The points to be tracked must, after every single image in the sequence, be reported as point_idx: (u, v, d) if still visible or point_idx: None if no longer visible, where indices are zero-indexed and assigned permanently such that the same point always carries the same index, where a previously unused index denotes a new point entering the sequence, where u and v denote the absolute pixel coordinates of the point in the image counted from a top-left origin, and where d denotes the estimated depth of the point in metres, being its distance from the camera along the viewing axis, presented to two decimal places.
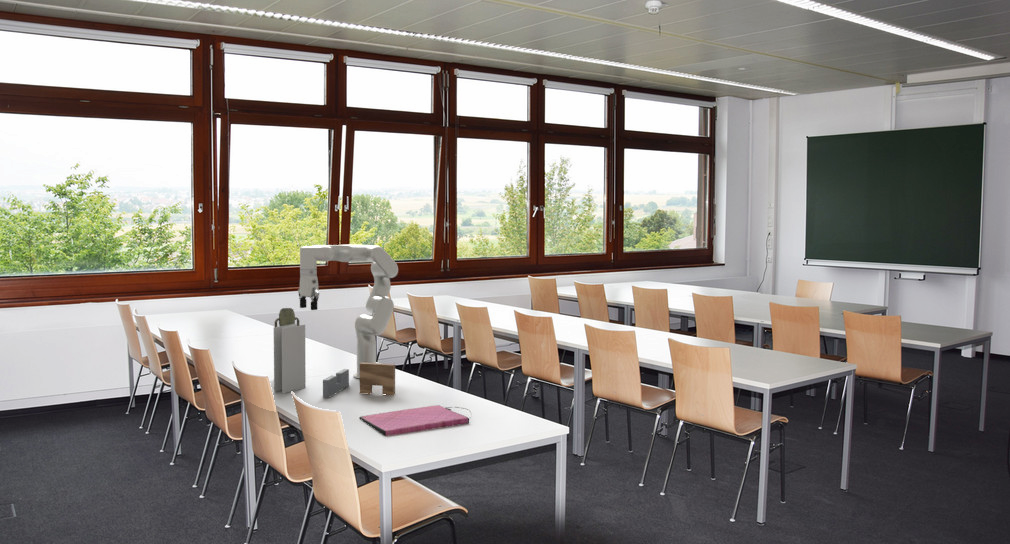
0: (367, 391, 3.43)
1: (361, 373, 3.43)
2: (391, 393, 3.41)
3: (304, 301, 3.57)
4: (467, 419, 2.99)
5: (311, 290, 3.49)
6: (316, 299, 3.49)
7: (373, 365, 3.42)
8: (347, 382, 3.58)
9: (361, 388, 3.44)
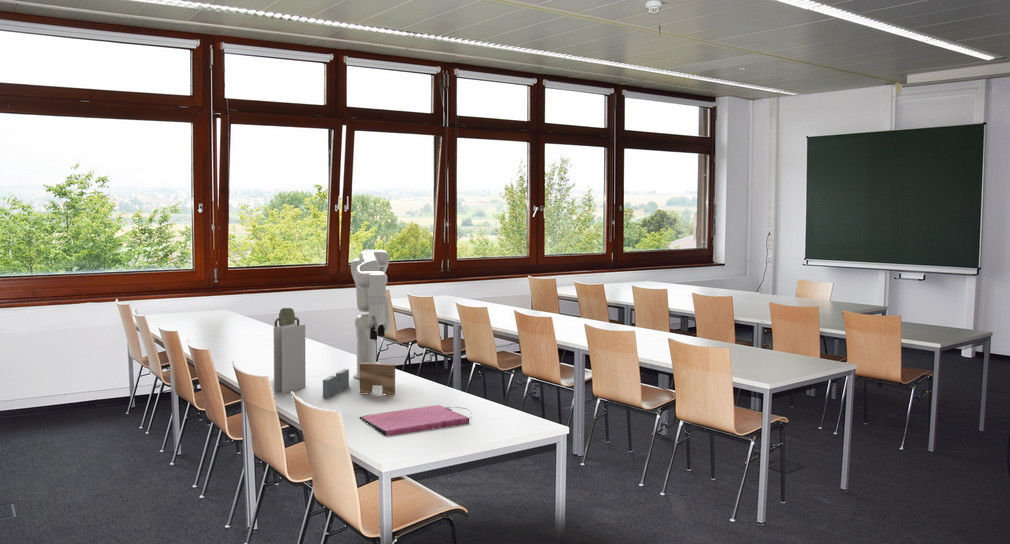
0: (367, 391, 3.43)
1: (361, 373, 3.43)
2: (391, 393, 3.41)
3: None
4: (467, 419, 2.99)
5: None
6: None
7: (373, 365, 3.42)
8: (347, 382, 3.58)
9: (361, 388, 3.44)
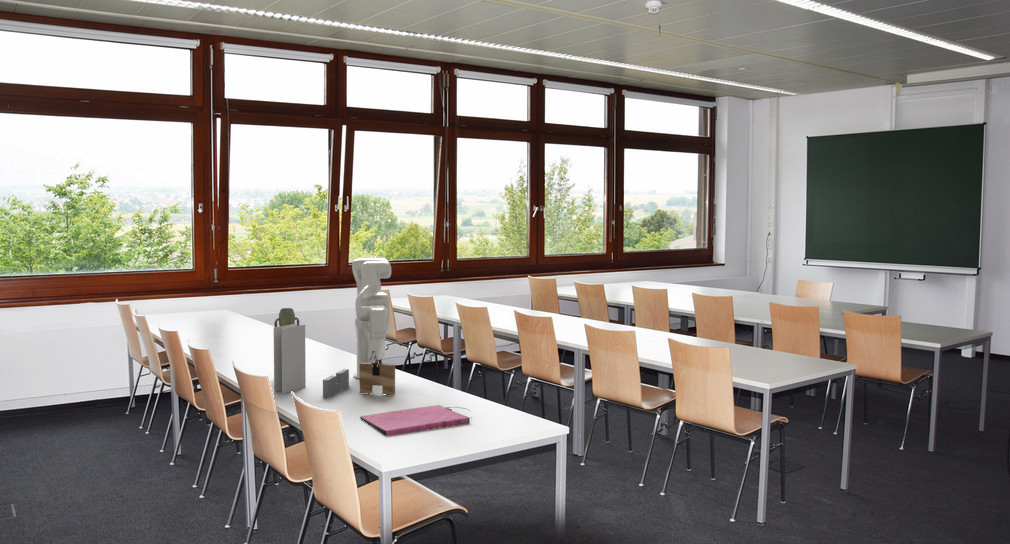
0: (367, 391, 3.43)
1: (361, 373, 3.43)
2: (391, 393, 3.41)
3: None
4: (468, 419, 2.99)
5: None
6: None
7: None
8: (347, 382, 3.58)
9: (361, 388, 3.44)
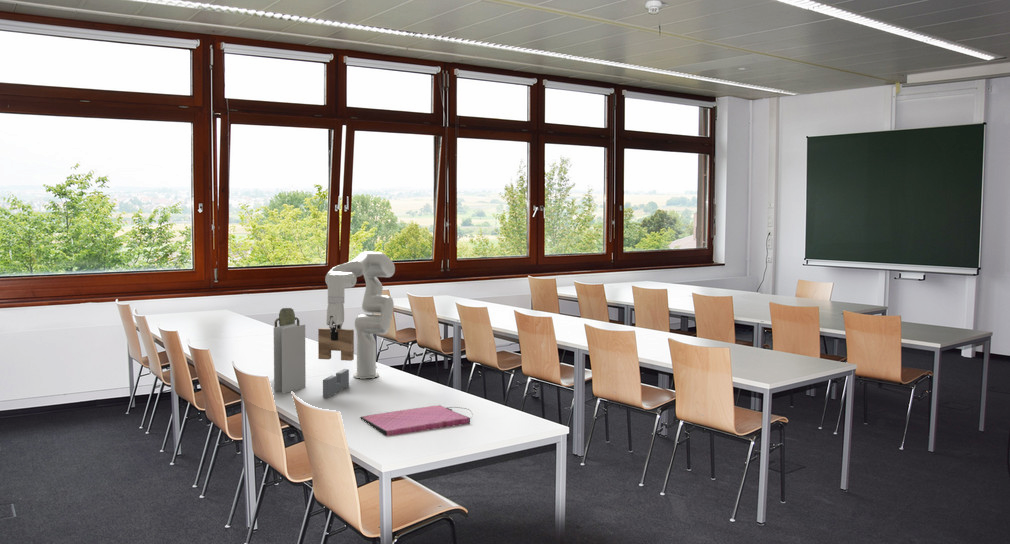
0: (326, 356, 3.46)
1: (320, 338, 3.46)
2: (349, 358, 3.44)
3: None
4: (468, 419, 2.99)
5: None
6: None
7: None
8: (347, 382, 3.58)
9: (320, 353, 3.46)
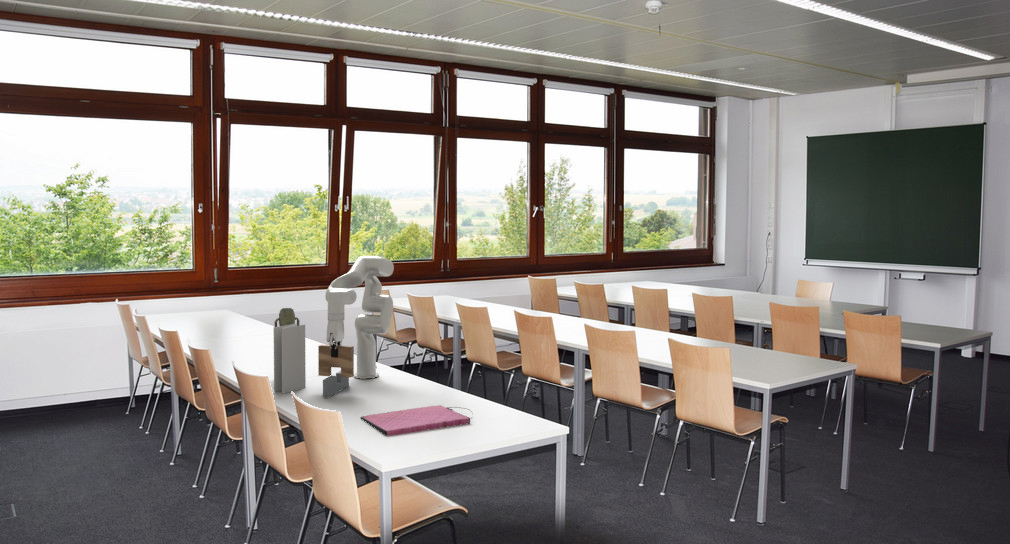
0: (326, 373, 3.46)
1: (320, 355, 3.46)
2: (349, 375, 3.44)
3: None
4: (468, 419, 2.99)
5: None
6: None
7: None
8: (347, 382, 3.58)
9: (320, 370, 3.47)
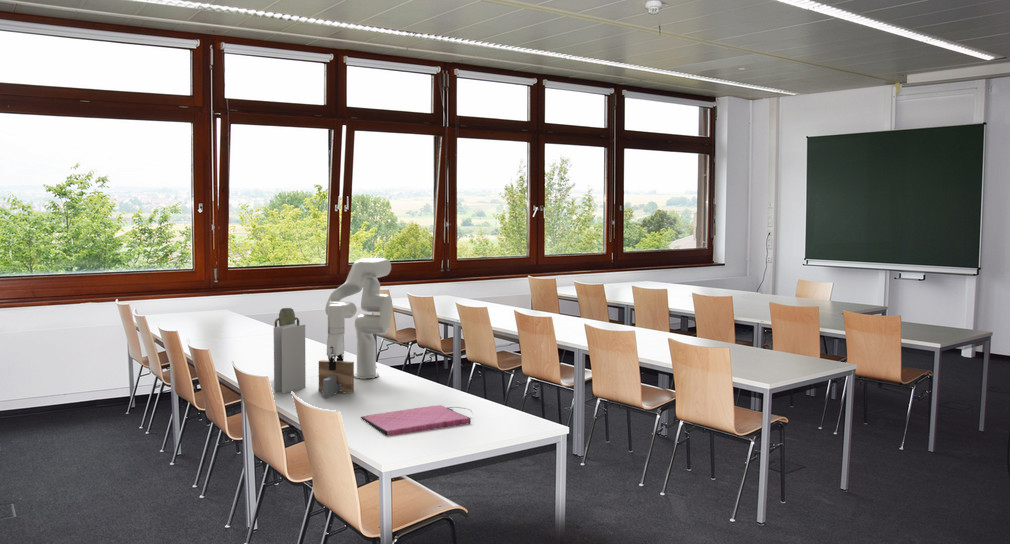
0: None
1: (320, 370, 3.47)
2: (349, 390, 3.45)
3: None
4: (468, 419, 2.99)
5: None
6: None
7: None
8: None
9: (320, 385, 3.48)
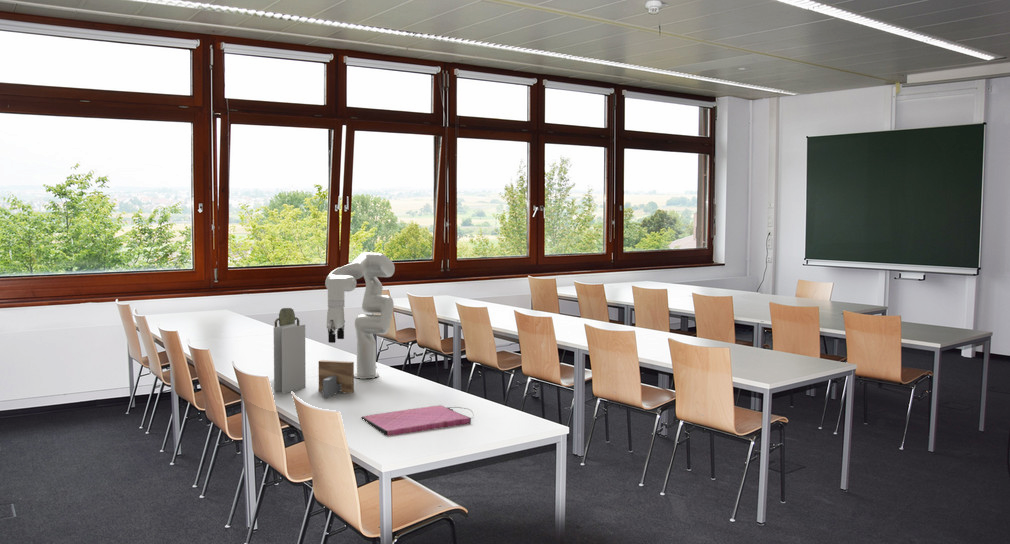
0: None
1: (320, 371, 3.47)
2: (349, 390, 3.45)
3: None
4: (469, 419, 2.99)
5: None
6: None
7: (332, 363, 3.46)
8: None
9: (320, 385, 3.48)
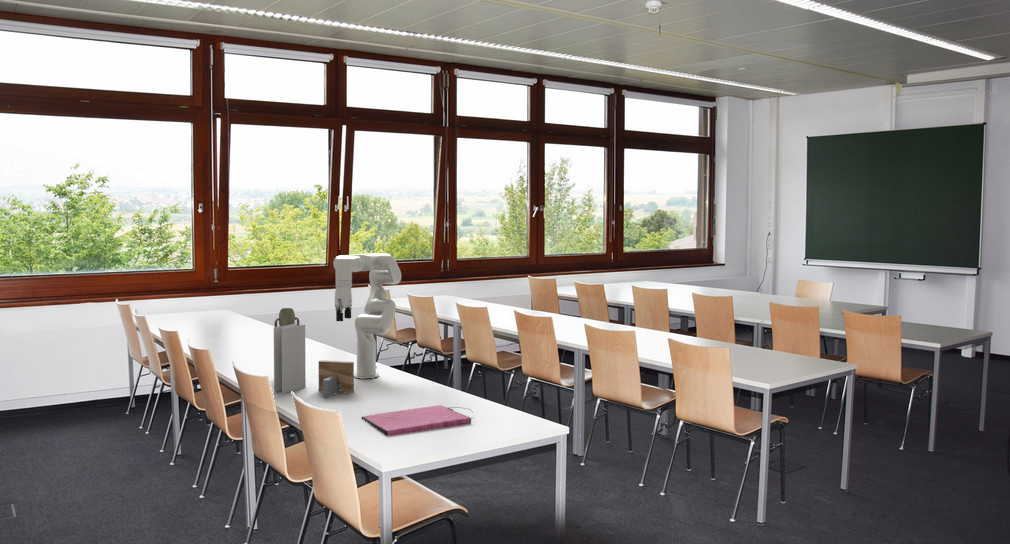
0: None
1: (320, 371, 3.47)
2: (349, 390, 3.45)
3: None
4: (469, 419, 2.99)
5: None
6: None
7: (332, 363, 3.46)
8: None
9: (320, 385, 3.48)
